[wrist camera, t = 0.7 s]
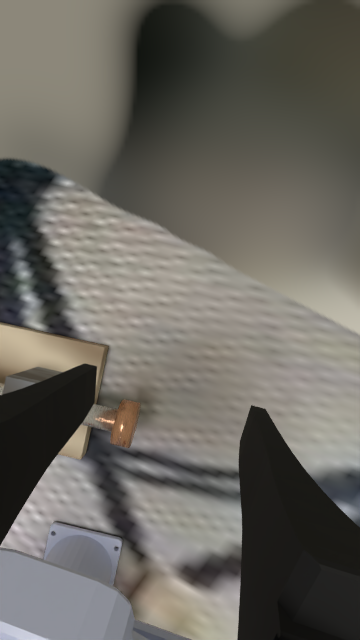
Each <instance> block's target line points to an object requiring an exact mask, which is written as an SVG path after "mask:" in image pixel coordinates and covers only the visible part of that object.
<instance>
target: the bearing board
mask: <svg viewBox="0 0 360 640" xmlns="http://www.w3.org/2000/svg"><path fill="white" fill-rule="evenodd" d="M108 347H109V346H107V345H102V344H98V343H93V342H88V341H84V340H79V339H75V338H70V337H65V336H61V335H56V334H52V333H47V332H43V331H38V330H33V329H29V328H24V327H20V326H15V325H11V324H6V323H1V322H0V383H3V384H4V389H3V394H6V393H9V392H13V391H16V390H19V389H22V388H25V387H27V386H30V385H33V384H35V383H38V382H41V381H43V380H46V379H48V378H51V377H53V376H55V375H58V374H60V373H63V372H65V371H67V370H69V369H72V368H74V367H77V366H79V365H82V364H85V363H86V364H90V365H94V366H97V375H96V390H95V403H94V404H96V403H97V399H98V394H99V389H100V385H101V380H102V375H103V370H104V366H105V361H106V356H107V352H108ZM90 432H91V427H89V426H84V425H80V426H79V428H78V429H77V430H76V432H75V433H74V434H73V435H72V437H71V438H70V439H69V441H68V442H67V443H66V444H65V446H64V447H63V448H62V449H61V451H60V452H59V453H58V454H59V455H63V456H68V457H72V458H76V459H80V460H81V459H82V457H83V456H84V455H85V453H86V451H87V446H88V441H89V436H90Z"/></svg>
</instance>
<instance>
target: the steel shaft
mask: <svg viewBox="0 0 360 640" xmlns="http://www.w3.org/2000/svg"><path fill="white" fill-rule="evenodd" d="M3 389H4V384H3V383H0V395H2V394H3ZM139 412H140V403H137V402H133V401H129V400H124V399H123V400H122V402H121V403H120V406H119V408H118V409H114V408H109V407H105V406H100V405H96V404H93V406H92V408H91V410H90V411H89V413H88V415H87V416H86V418H85V420H84V421H83V423H82V424H81V425H84V426H89V427H93V428H97V429H102V430H106V431H111V432H112V433H111V444H113V445H118V446H122V447H126V448H129V447H130V445H131V443H132V440H133V437H134V433H135V430H136V426H137V422H138V418H139Z"/></svg>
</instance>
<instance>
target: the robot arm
mask: <svg viewBox="0 0 360 640" xmlns="http://www.w3.org/2000/svg"><path fill="white" fill-rule="evenodd" d="M96 375H97V366H94V365H90V364H86V363H85V364H82V365H79V366H77V367H74V368H72V369H69V370H67V371H65V372H63V373H60V374H58V375H55V376H53V377H51V378H48V379H46V380H43V381H41V382H38V383H35V384H33V385H30V386H27V387H25V388H22V389H19V390H16V391H13V392H9V393H6V394H2V395H0V545H1V543H2V541H3V540H4V538H5V536H6V535H7V533H8V531H9V529H10V528H11V526H12V524H13V522H14V521H15V519H16V517H17V516H18V514H19V512H20V511H21V509H22V507H23V506H24V504H25V502H26V501H27V499H28V498H29V496H30V494H31V493H32V491H33V489H34V488H35V486H36V485H37V483H38V482H39V480H40V478H41V477H42V475H43V474H44V472H45V471H46V469H47V468H48V466H49V465H50V464H51V462H52V461H53V460H54V458H55V457H56V456H57V455H58V453H59V452H60V451H61V449H62V448H63V447H64V446H65V444H66V443H67V442H68V441H69V439H70V438H71V437H72V435H73V434H74V433H75V432H76V430H77V429H78V428H79V426H80V425H81V424H82V423H83V421H84V420H85V418H86V416H87V415H88V413H89V411H90V410H91V408H92V406H93V404H94V403H95V390H96ZM239 478H240V493H241V508H242V561H241V586H240V606H239V625H238V640H360V527H358V526H357V525H356V524H355V523H354V522H353V521H352V520H351V519H350V518H349V517H348V516H347V515H346V514H345V513H344V512H343V511H342V510H341V509H340V508H339V507H338V506H337V505H336V504H335V503H334V502H333V501H332V500H331V499H330V498H329V497H328V496H327V495H326V494H325V493H324V492H323V490H322V489H321V488H320V487H319V486H318V485H317V484H316V482H315V481H314V480H313V479H312V478H311V476H310V475H309V474H308V473H307V472H306V470H305V469H304V468H303V467H302V465H301V464H300V462H299V461H298V460H297V458H296V457H295V456H294V454H293V453H292V451H291V450H290V448H289V447H288V445H287V444H286V442H285V441H284V439H283V438H282V436H281V434H280V433H279V431H278V430H277V428H276V426H275V425H274V423H273V421H272V419H271V418H270V416H269V414H268V413H267V411H266V409H263V408H259V407H255V406H252V405H251V408H250V411H249V414H248V417H247V421H246V424H245V427H244V430H243V433H242V437H241V440H240V449H239ZM53 531H54V532H55V533H53ZM115 546H117V547H118V548H115ZM121 547H122V539H121V538H120V537H116V536H112V535H108V534H104V533H99V532H95V531H91V530H87V529H83V528H79V527H74V526H70V525H66V524H62V523H58V522H54V523H53V524H52V525H51V527H50V530H49V535H48V540H47V544H46V549H45V554H44V558H43V559H40V558H38V557H35V556H32V555H29V554H26V553H23V552H20V551H17V550H12V549H6V548H0V640H191V639H188V638H185V637H183V636H180V635H177V634H174V633H171V632H169V631H166V630H163V629H160V628H158V627H155V626H152V625H149V624H147V623H144V622H141V621H138V620H135V619H134V615H133V611H132V606H131V604H130V601H129V600H128V599H127V598H126V597H125V596H124V595H123V594H122V593H121V592H120V591H119V590H118V589H117V588H116V587H114V586H113V585H114V580H115V575H116V571H117V566H118V561H119V557H120V552H121Z"/></svg>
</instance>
